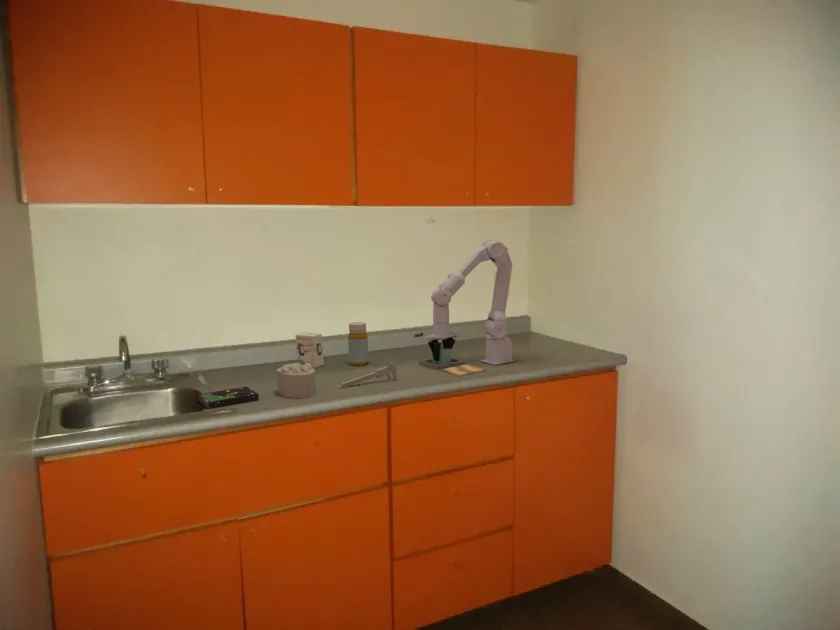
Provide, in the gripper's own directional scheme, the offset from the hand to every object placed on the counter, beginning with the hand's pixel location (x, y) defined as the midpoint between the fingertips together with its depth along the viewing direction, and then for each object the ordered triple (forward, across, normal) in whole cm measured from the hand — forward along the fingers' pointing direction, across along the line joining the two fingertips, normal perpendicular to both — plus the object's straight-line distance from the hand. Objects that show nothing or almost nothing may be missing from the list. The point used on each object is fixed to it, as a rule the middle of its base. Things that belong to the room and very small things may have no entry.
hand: (441, 359), depth 232 cm
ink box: (+2, +37, -30) cm, 48 cm away
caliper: (+2, +35, +5) cm, 35 cm away
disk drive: (+3, +77, -4) cm, 77 cm away
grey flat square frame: (+2, 0, 0) cm, 2 cm away
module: (+2, 0, 0) cm, 2 cm away
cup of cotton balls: (+2, +57, +1) cm, 57 cm away
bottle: (+2, +22, -21) cm, 30 cm away
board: (+2, 0, +12) cm, 12 cm away
